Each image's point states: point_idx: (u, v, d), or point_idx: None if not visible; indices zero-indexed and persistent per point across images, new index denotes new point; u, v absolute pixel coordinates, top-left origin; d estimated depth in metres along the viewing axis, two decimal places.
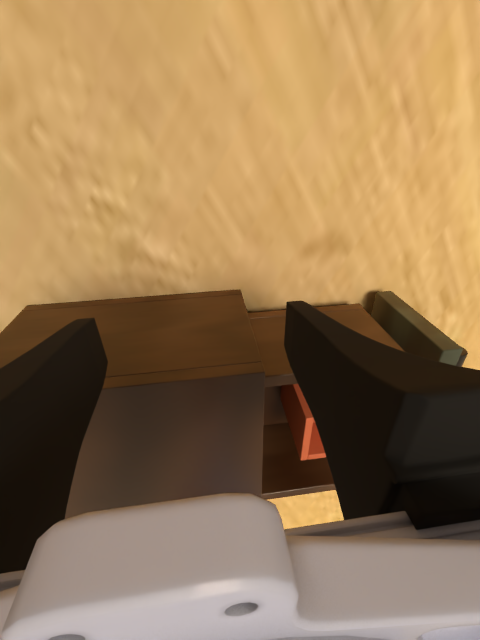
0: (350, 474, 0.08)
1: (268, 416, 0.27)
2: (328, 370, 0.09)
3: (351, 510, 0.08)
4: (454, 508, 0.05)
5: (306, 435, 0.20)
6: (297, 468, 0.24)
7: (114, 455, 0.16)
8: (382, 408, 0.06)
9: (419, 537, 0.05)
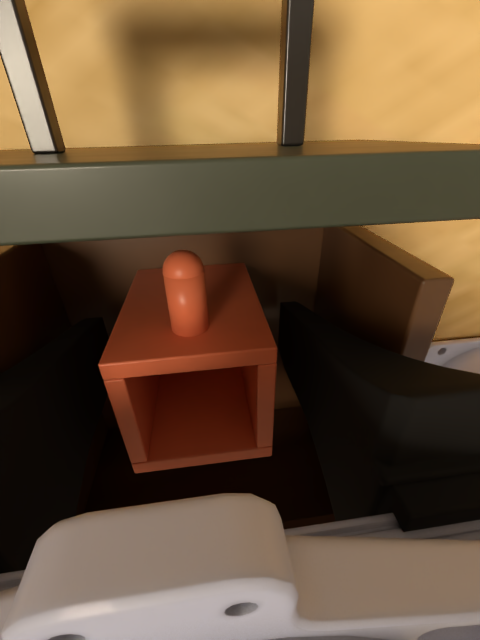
0: (340, 475, 0.08)
1: None
2: (319, 371, 0.08)
3: (342, 511, 0.08)
4: (441, 510, 0.05)
5: (188, 463, 0.09)
6: None
7: None
8: (370, 410, 0.06)
9: (419, 537, 0.05)
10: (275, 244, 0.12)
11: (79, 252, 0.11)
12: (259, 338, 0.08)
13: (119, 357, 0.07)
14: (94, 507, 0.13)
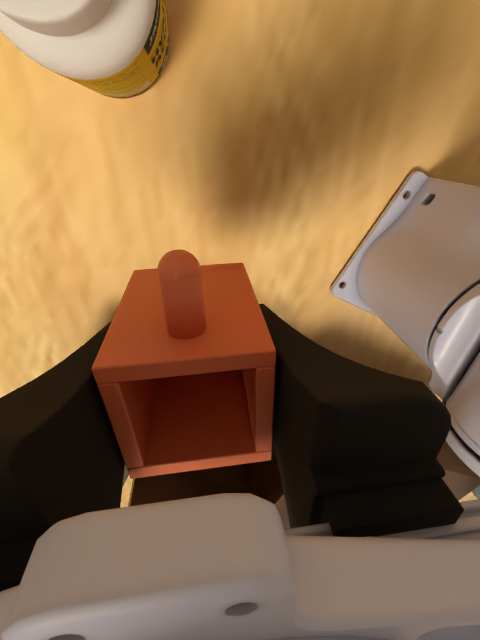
0: (291, 482, 0.08)
1: None
2: (275, 376, 0.08)
3: (293, 519, 0.08)
4: (374, 521, 0.05)
5: (185, 468, 0.09)
6: None
7: None
8: (306, 417, 0.06)
9: (419, 537, 0.05)
10: None
11: None
12: (257, 340, 0.08)
13: (113, 360, 0.07)
14: None
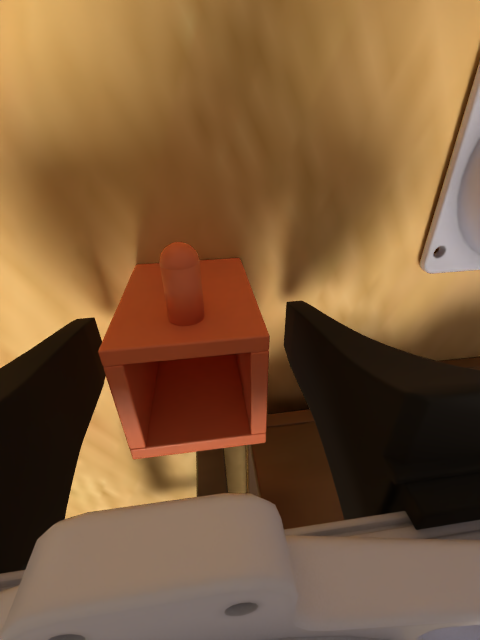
0: (350, 474, 0.08)
1: None
2: (328, 370, 0.09)
3: (351, 510, 0.08)
4: (454, 508, 0.05)
5: (184, 449, 0.10)
6: None
7: None
8: (382, 408, 0.06)
9: (419, 537, 0.05)
10: None
11: None
12: (252, 327, 0.08)
13: (118, 344, 0.08)
14: None
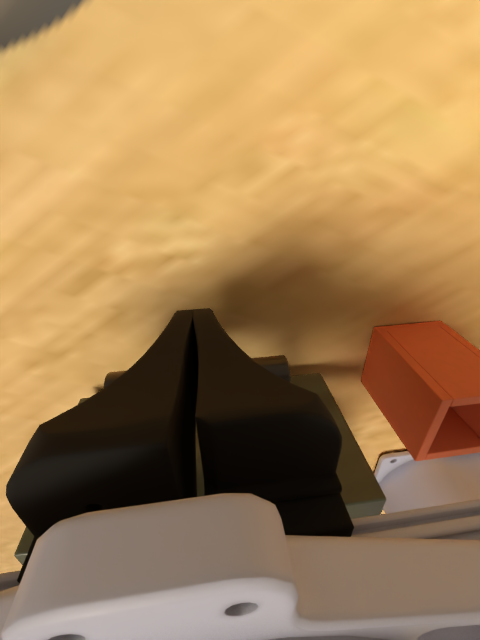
0: None
1: None
2: None
3: None
4: None
5: (434, 426, 0.14)
6: None
7: None
8: None
9: (419, 537, 0.05)
10: None
11: None
12: None
13: None
14: None
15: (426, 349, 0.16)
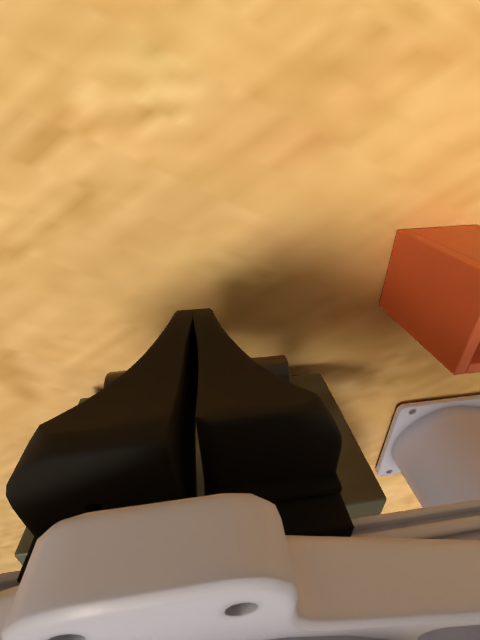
0: None
1: None
2: None
3: None
4: None
5: None
6: None
7: None
8: None
9: (419, 537, 0.05)
10: None
11: None
12: None
13: None
14: None
15: (465, 243, 0.13)
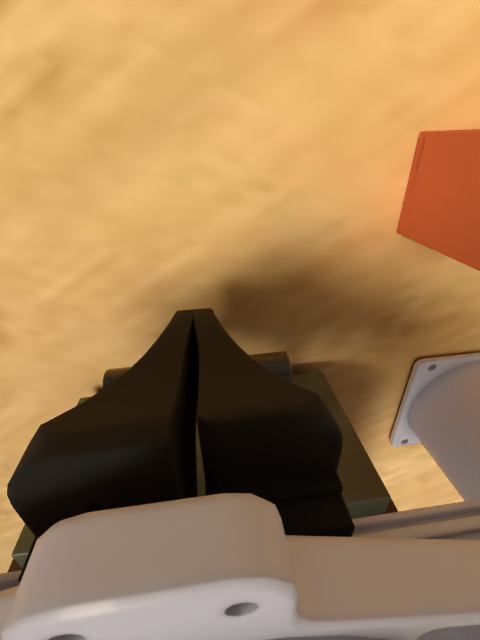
0: None
1: None
2: None
3: None
4: None
5: None
6: None
7: None
8: None
9: (419, 537, 0.05)
10: None
11: None
12: None
13: None
14: None
15: None
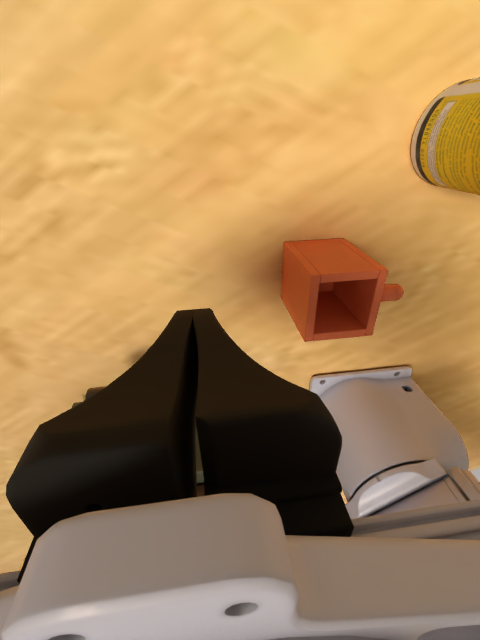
0: None
1: None
2: None
3: None
4: None
5: (312, 303, 0.17)
6: None
7: None
8: None
9: (419, 537, 0.05)
10: None
11: None
12: None
13: None
14: None
15: (318, 252, 0.19)
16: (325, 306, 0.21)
